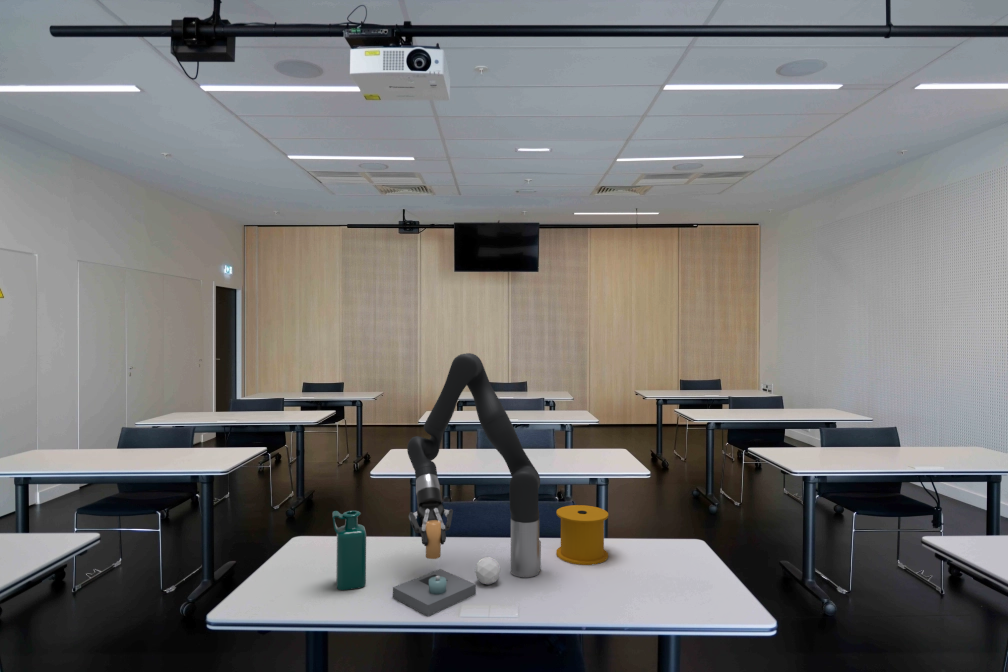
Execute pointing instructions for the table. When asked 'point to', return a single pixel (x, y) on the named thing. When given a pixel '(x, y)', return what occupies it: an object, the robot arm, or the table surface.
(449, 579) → the block
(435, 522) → the orange capsule
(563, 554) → the spool
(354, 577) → the pitcher
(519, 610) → the table surface
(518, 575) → the robot arm
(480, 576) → the ball
